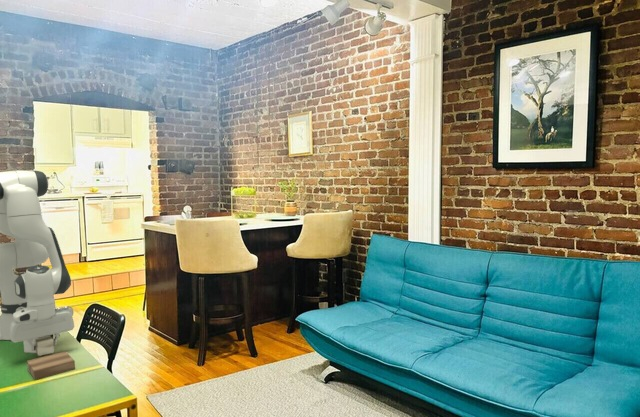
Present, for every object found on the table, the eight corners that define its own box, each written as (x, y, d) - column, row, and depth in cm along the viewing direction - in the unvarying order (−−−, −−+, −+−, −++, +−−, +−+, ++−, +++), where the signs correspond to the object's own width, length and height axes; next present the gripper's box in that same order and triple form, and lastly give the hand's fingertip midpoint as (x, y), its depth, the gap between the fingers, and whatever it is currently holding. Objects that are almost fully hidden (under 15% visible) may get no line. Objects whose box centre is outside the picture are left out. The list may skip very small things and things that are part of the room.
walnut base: (27, 369, 164) (26, 360, 164) (66, 359, 172) (65, 351, 172) (34, 379, 155) (34, 371, 155) (75, 369, 163) (74, 360, 163)
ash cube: (35, 352, 176) (34, 338, 175) (50, 348, 179) (49, 335, 178) (38, 356, 172) (37, 342, 171) (54, 352, 175) (53, 339, 175)
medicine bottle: (40, 353, 178) (37, 322, 177) (23, 352, 180) (21, 321, 179) (54, 346, 185) (52, 316, 184) (38, 345, 187) (36, 315, 186)
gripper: (70, 303, 183) (73, 338, 184) (7, 314, 170) (10, 352, 171) (75, 306, 178) (77, 342, 180) (10, 319, 165) (13, 357, 166)
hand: (44, 347), depth 175 cm, fingers closed on ash cube, 5 cm apart
